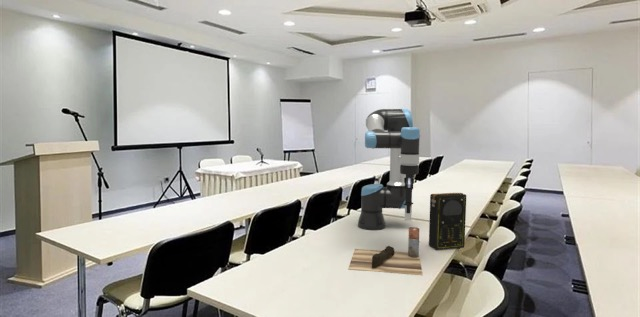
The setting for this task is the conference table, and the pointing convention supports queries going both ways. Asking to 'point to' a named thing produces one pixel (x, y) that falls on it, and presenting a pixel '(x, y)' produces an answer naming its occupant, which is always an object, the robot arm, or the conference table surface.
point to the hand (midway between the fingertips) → (408, 220)
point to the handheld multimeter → (447, 220)
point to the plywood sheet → (386, 262)
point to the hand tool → (382, 256)
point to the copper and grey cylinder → (413, 242)
